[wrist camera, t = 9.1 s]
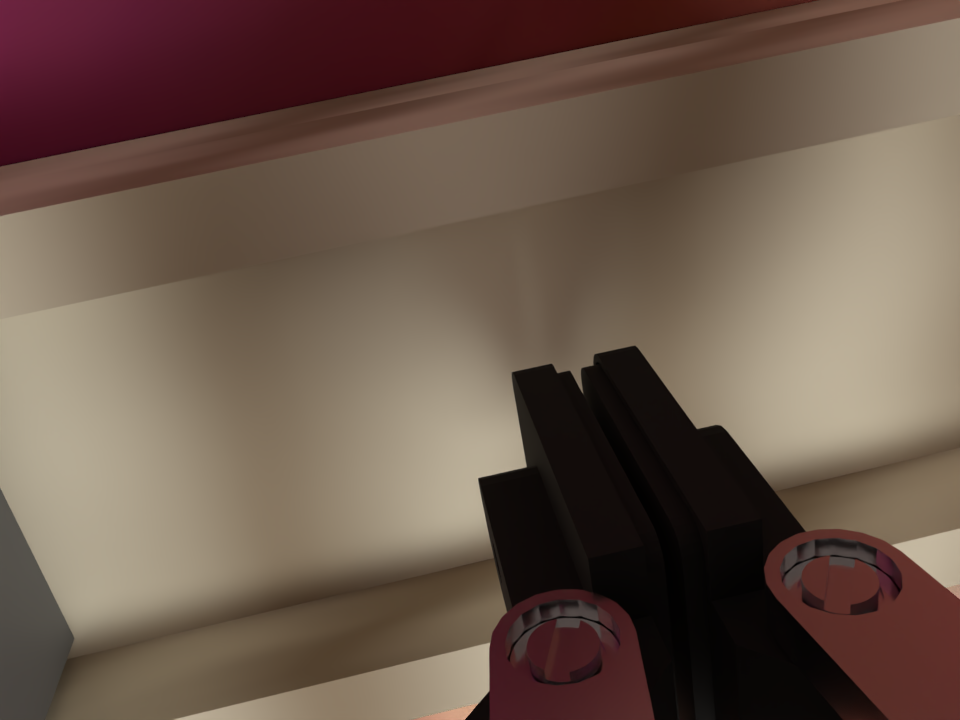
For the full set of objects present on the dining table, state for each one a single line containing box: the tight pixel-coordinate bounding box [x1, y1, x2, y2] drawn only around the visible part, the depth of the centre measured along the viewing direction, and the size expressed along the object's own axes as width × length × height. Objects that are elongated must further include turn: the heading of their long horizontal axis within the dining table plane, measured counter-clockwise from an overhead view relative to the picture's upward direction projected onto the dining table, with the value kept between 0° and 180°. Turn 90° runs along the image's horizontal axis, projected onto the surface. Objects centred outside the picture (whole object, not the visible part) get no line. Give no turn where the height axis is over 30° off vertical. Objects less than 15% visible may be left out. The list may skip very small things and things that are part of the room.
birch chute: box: [0, 0, 960, 720], centre depth 14 cm, size 26×9×4 cm, turn 100°
